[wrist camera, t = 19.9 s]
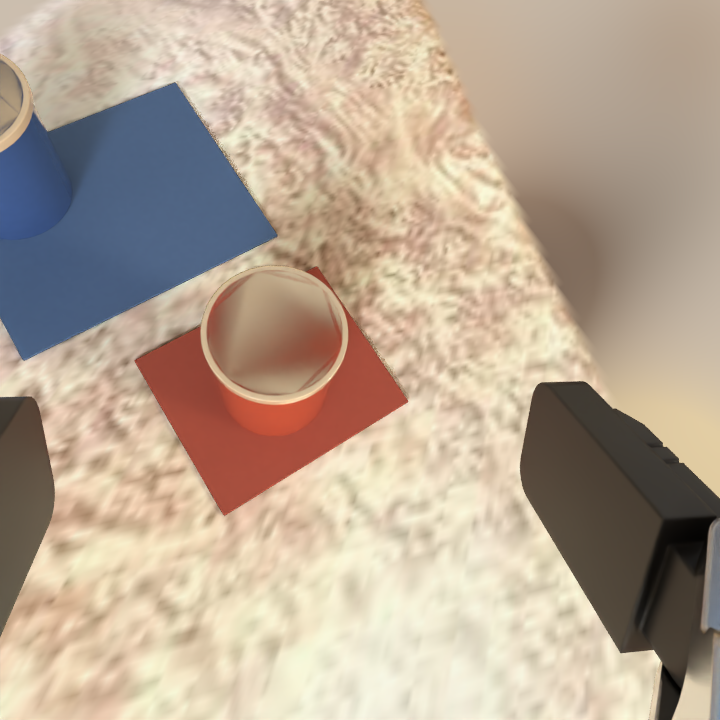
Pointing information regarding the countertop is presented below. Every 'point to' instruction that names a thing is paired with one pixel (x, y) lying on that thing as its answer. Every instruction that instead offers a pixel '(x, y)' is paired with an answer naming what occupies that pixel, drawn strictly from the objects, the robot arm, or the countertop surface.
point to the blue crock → (27, 163)
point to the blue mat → (127, 221)
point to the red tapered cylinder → (274, 347)
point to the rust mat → (250, 450)
